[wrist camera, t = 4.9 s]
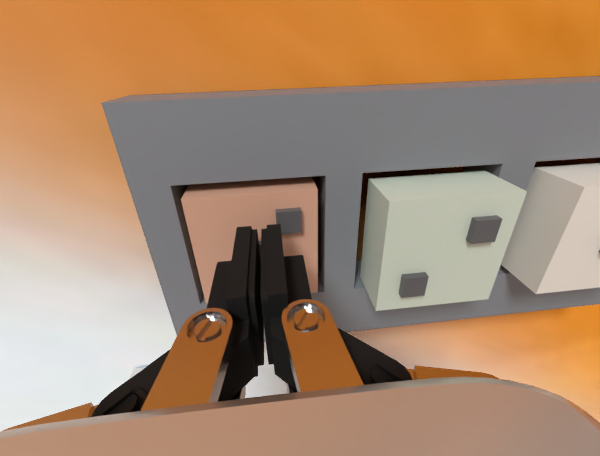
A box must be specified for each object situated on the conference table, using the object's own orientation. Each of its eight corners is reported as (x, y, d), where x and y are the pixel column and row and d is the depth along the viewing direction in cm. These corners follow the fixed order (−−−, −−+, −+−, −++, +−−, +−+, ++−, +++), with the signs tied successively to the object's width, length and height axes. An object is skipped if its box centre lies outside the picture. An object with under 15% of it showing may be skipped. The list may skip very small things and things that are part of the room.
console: (667, 73, 14) (739, 75, 12) (565, 278, 20) (600, 303, 18) (129, 95, 12) (101, 103, 10) (191, 316, 18) (181, 350, 16)
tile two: (484, 170, 13) (533, 194, 11) (457, 267, 16) (492, 303, 13) (368, 178, 13) (392, 205, 10) (360, 276, 15) (378, 316, 13)
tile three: (309, 170, 14) (319, 192, 12) (310, 262, 16) (318, 296, 14) (193, 177, 13) (178, 202, 11) (212, 271, 16) (204, 308, 14)
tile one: (640, 160, 14) (717, 180, 11) (590, 254, 16) (645, 287, 14) (534, 167, 13) (592, 190, 11) (499, 263, 16) (540, 298, 14)
